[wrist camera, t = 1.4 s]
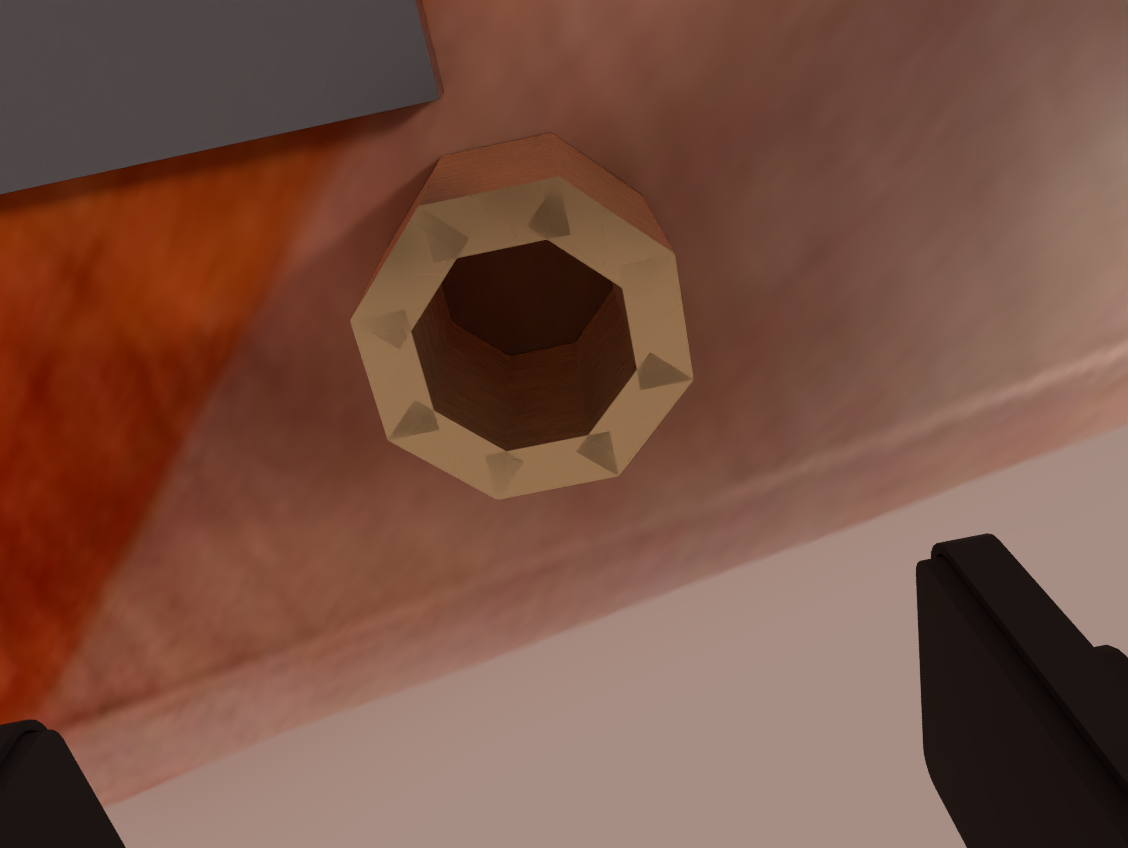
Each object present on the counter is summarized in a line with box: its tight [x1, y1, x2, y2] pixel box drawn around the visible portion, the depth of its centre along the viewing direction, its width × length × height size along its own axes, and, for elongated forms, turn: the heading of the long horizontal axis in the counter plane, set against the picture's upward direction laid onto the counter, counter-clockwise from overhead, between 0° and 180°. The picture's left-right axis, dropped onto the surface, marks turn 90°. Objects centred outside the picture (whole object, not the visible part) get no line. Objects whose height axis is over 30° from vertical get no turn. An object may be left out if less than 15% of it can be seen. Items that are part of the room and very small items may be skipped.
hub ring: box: [350, 133, 694, 500], centre depth 23 cm, size 7×7×6 cm
